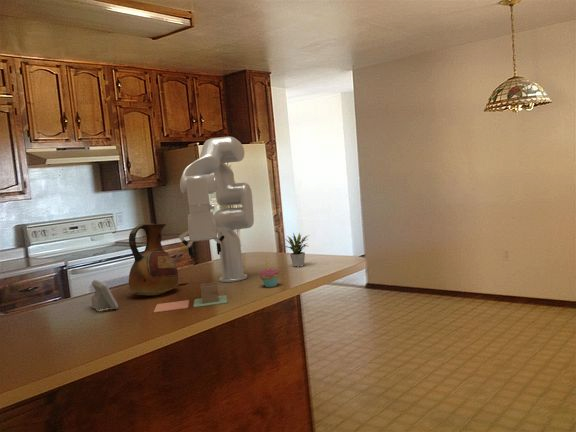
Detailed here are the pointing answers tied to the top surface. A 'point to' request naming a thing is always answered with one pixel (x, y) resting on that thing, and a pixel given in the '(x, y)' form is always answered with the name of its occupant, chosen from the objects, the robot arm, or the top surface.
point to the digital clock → (102, 296)
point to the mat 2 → (221, 301)
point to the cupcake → (269, 276)
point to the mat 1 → (171, 306)
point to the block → (209, 292)
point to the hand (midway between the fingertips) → (205, 255)
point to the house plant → (297, 250)
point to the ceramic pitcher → (151, 264)
